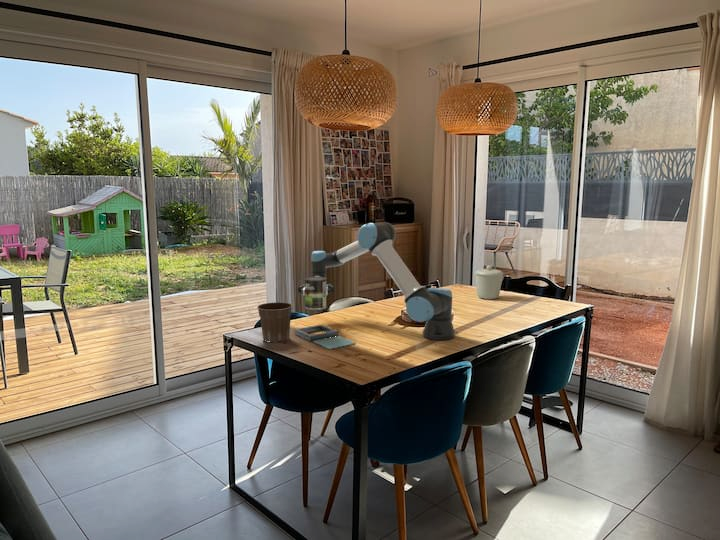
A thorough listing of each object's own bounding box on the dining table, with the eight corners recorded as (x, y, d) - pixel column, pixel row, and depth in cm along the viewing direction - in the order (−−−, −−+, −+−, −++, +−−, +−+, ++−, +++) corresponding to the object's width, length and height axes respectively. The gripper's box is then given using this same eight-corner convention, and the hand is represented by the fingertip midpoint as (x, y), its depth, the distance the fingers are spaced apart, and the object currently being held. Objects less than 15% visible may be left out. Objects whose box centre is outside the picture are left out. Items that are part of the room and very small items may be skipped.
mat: (338, 337, 256) (338, 336, 256) (355, 344, 245) (355, 342, 245) (313, 342, 248) (313, 340, 248) (329, 349, 237) (329, 348, 237)
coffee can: (314, 311, 250) (314, 281, 248) (300, 307, 257) (300, 278, 255) (331, 307, 257) (330, 278, 255) (317, 304, 264) (316, 275, 262)
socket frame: (321, 329, 270) (321, 324, 269) (338, 336, 257) (338, 331, 257) (294, 334, 261) (294, 329, 261) (310, 341, 249) (310, 336, 248)
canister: (473, 294, 355) (474, 263, 352) (501, 295, 352) (502, 263, 349) (474, 300, 338) (475, 267, 334) (503, 301, 335) (505, 267, 331)
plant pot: (253, 343, 246) (252, 309, 243) (264, 334, 262) (263, 301, 259) (288, 345, 244) (287, 310, 241) (297, 335, 259) (296, 302, 257)
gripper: (340, 291, 274) (339, 300, 252) (295, 291, 274) (291, 300, 252) (340, 276, 273) (339, 284, 251) (295, 277, 273) (290, 285, 251)
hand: (315, 292), depth 252 cm, fingers closed on coffee can, 10 cm apart
